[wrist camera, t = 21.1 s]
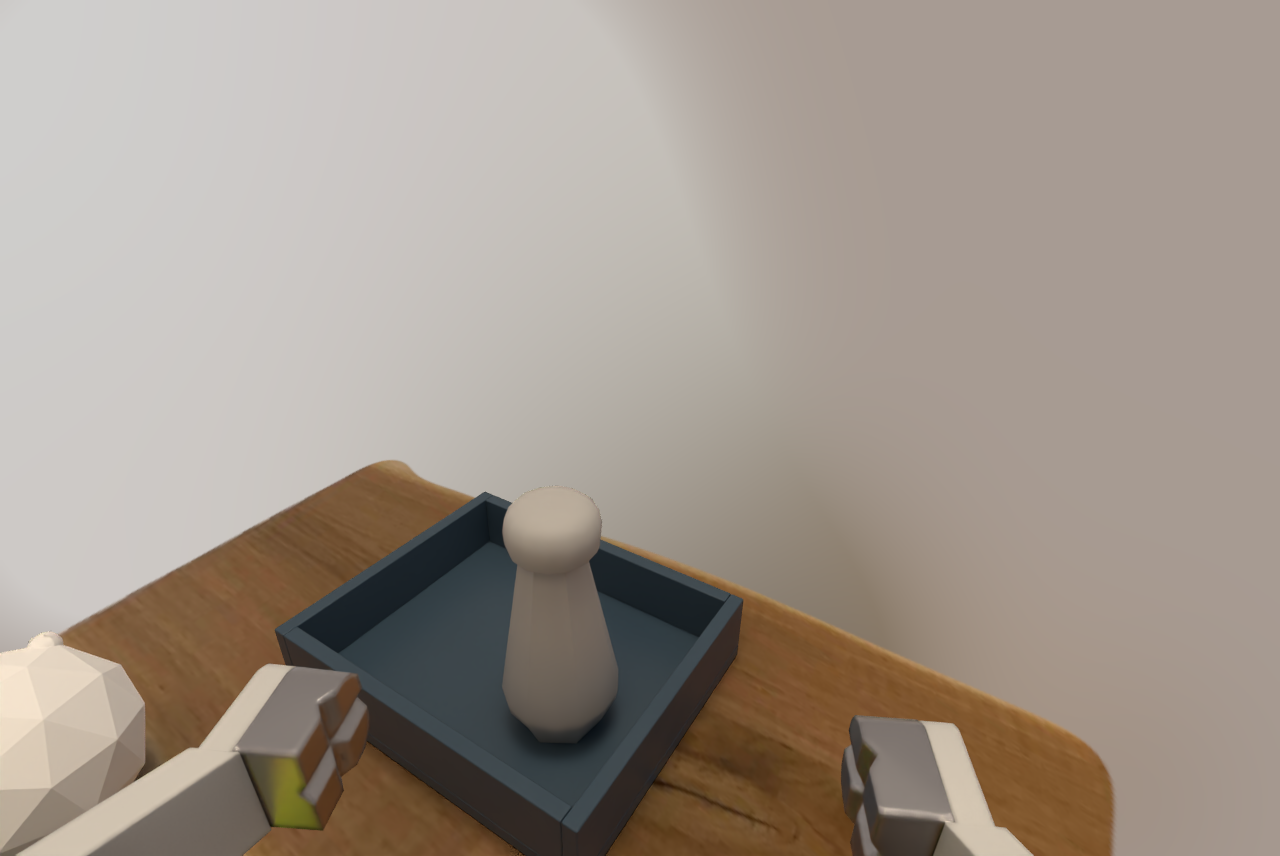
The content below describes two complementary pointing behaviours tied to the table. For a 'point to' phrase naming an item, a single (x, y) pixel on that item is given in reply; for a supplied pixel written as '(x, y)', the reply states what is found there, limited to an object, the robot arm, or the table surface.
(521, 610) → the salt shaker
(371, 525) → the table surface
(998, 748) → the table surface
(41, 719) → the decorative ball
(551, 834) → the tray
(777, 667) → the table surface
